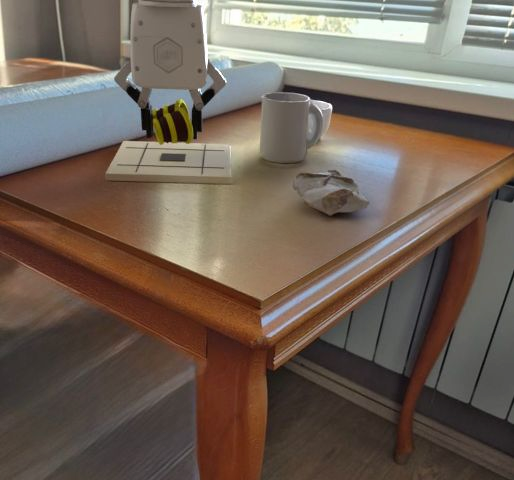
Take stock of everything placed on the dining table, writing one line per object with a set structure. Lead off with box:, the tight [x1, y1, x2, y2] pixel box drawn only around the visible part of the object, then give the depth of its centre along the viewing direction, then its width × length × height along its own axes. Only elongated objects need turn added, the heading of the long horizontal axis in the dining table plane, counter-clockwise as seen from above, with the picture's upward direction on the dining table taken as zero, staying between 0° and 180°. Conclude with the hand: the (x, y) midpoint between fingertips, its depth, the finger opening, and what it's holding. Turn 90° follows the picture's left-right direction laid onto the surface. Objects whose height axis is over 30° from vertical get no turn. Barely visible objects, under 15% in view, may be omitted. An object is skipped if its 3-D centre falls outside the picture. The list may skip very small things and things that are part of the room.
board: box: [104, 140, 232, 185], centre depth 90 cm, size 17×17×1 cm
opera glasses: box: [152, 98, 194, 145], centre depth 87 cm, size 10×5×5 cm, turn 9°
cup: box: [259, 91, 323, 164], centre depth 94 cm, size 7×10×9 cm
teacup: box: [307, 99, 333, 138], centre depth 105 cm, size 10×8×5 cm
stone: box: [291, 169, 370, 217], centre depth 78 cm, size 12×9×3 cm
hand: (172, 135), depth 88 cm, fingers closed on opera glasses, 5 cm apart
